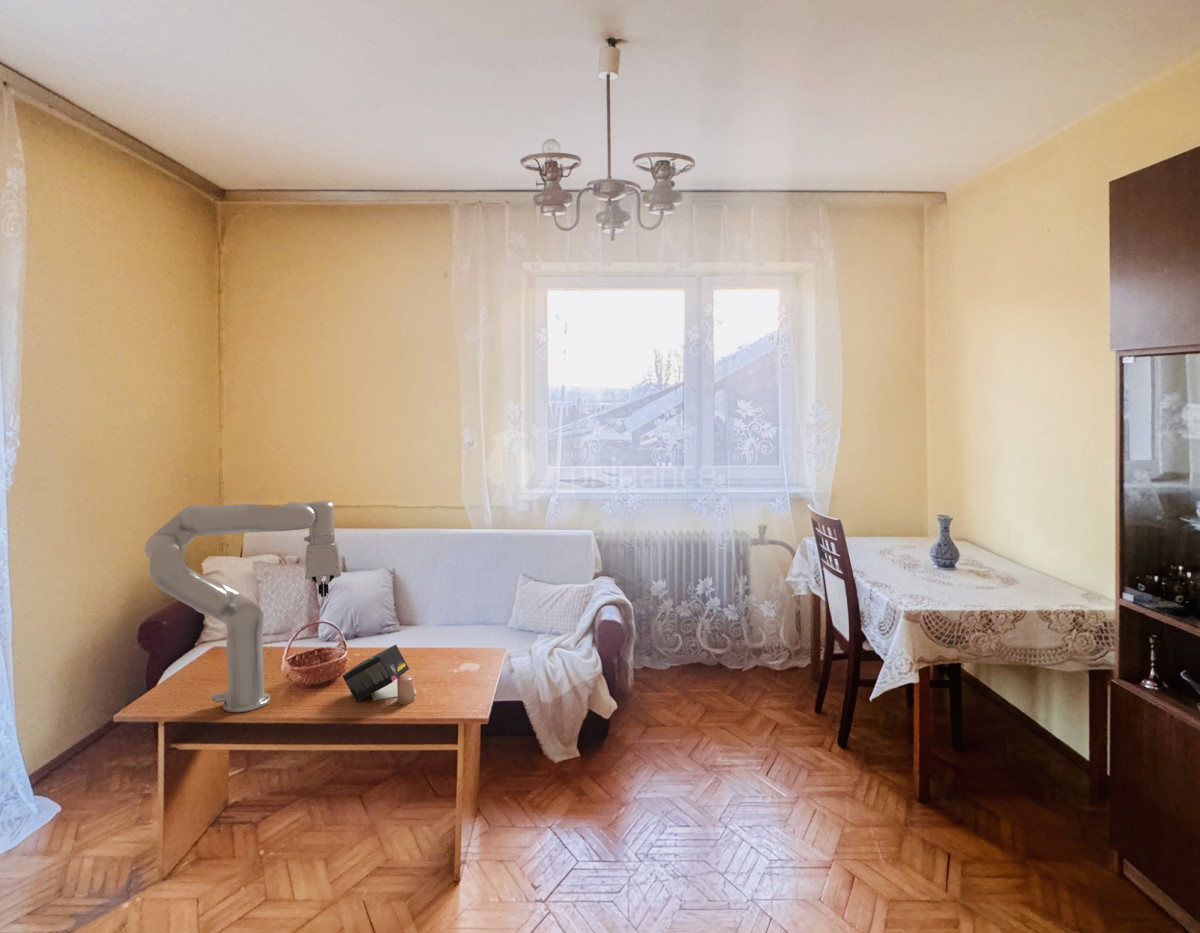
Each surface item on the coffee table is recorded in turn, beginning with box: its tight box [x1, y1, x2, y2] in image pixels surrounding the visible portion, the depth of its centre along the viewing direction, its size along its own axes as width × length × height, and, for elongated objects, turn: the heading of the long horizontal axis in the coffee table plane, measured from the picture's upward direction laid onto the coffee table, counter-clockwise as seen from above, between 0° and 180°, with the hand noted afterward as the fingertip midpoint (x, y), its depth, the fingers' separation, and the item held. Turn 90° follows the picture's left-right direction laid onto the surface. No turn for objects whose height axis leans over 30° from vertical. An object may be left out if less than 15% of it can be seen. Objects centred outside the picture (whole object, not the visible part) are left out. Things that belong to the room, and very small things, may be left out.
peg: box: [397, 674, 416, 705], centre depth 201 cm, size 5×5×7 cm
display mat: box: [371, 678, 417, 701], centre depth 210 cm, size 13×15×1 cm
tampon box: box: [342, 644, 410, 702], centre depth 203 cm, size 11×9×15 cm
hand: (323, 595), depth 212 cm, fingers closed
